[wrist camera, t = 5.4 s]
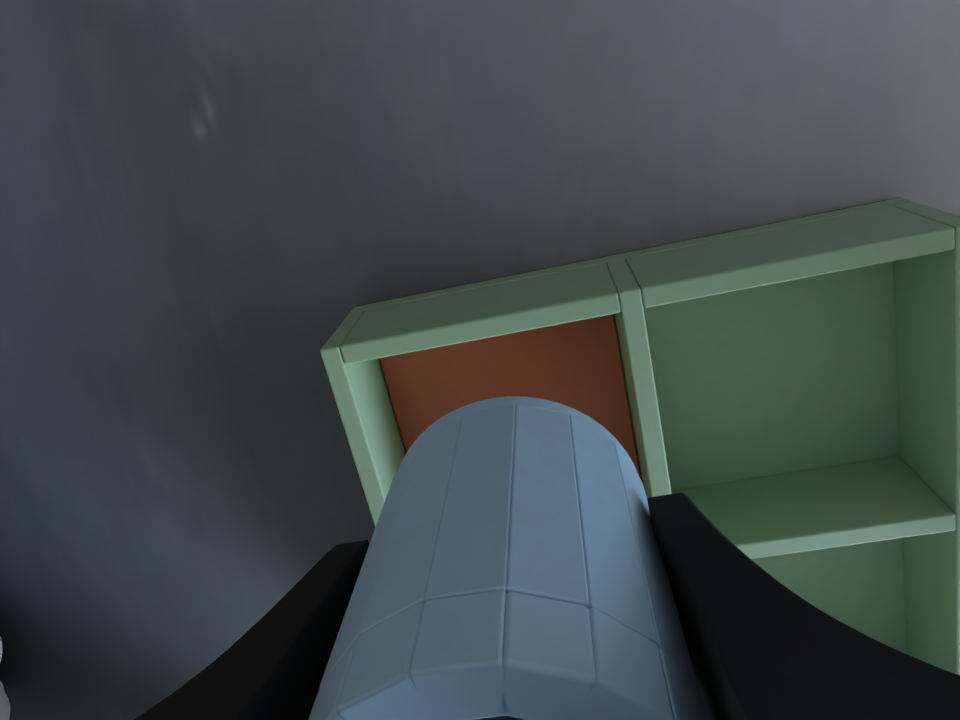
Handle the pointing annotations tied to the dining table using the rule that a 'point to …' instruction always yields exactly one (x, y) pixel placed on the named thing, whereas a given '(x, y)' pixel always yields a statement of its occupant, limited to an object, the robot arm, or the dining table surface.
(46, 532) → the dining table surface
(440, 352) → the green compartment tray
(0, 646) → the white tied sack
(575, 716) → the jar
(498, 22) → the dining table surface
